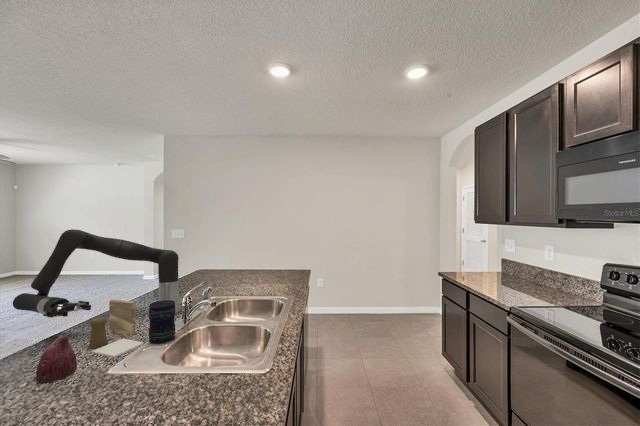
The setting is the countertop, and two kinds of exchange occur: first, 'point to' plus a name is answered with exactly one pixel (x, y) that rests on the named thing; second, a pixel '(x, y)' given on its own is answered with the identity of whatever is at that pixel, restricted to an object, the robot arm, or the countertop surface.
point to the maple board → (122, 317)
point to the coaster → (118, 347)
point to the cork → (98, 333)
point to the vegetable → (56, 361)
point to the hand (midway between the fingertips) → (78, 310)
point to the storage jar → (162, 321)
